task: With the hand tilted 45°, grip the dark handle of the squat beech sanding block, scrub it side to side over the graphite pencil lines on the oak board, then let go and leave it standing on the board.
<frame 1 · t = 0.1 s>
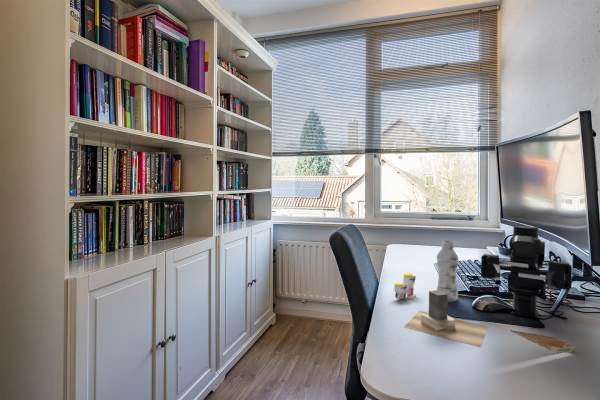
hand: (521, 278, 75), 17 cm above the table, tool horizontal, fingers open, 9 cm apart
plastic bottle: (446, 302, 106), on the table
sanding block: (437, 325, 86), point 1 cm above the table, touching oak board
shard: (541, 348, 77), on the table
oak board: (445, 329, 85), on the table
toy figures: (405, 299, 109), on the table
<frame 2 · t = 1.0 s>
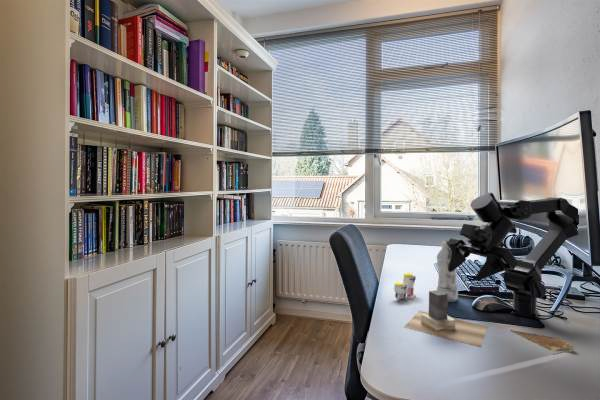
hand: (461, 275, 87), 14 cm above the table, tool tilted 45°, fingers open, 9 cm apart
nothing on the table moved.
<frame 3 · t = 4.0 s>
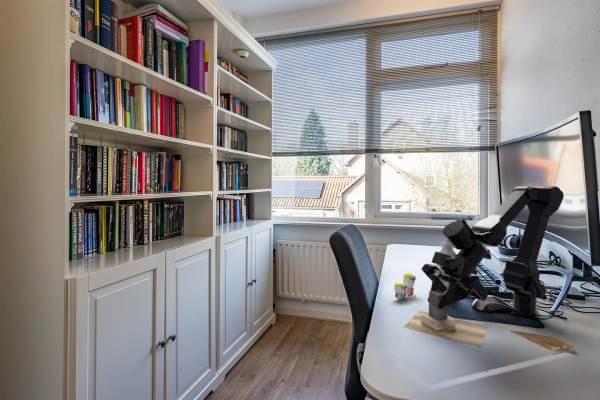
hand: (433, 304, 85), 7 cm above the table, tool tilted 45°, fingers closed on sanding block, 3 cm apart
sanding block: (437, 325, 86), point 1 cm above the table, touching gripper, oak board
everything else where it was.
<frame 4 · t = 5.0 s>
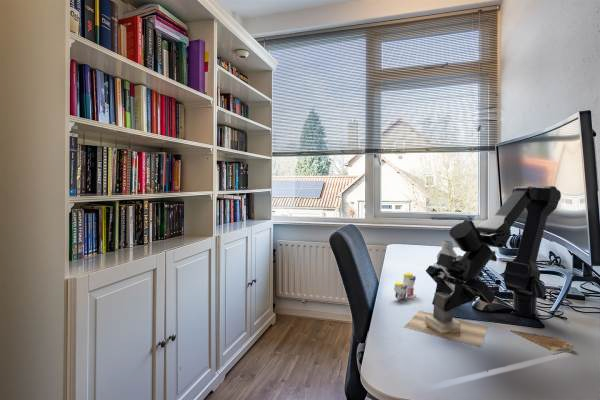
hand: (438, 307, 83), 7 cm above the table, tool tilted 45°, fingers closed on sanding block, 4 cm apart
sanding block: (442, 327, 84), point 1 cm above the table, touching gripper, oak board
everything else where it was.
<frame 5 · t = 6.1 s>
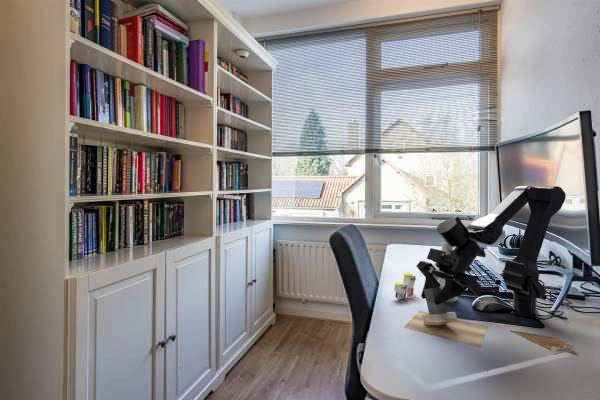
hand: (428, 300, 86), 7 cm above the table, tool tilted 45°, fingers closed on sanding block, 4 cm apart
sanding block: (440, 323, 85), point 2 cm above the table, tilted 22°, touching gripper, oak board
everything else where it was.
when the fingers open (7 cm above the table, at t = 9.4 s): sanding block stays where it is, resting on oak board.
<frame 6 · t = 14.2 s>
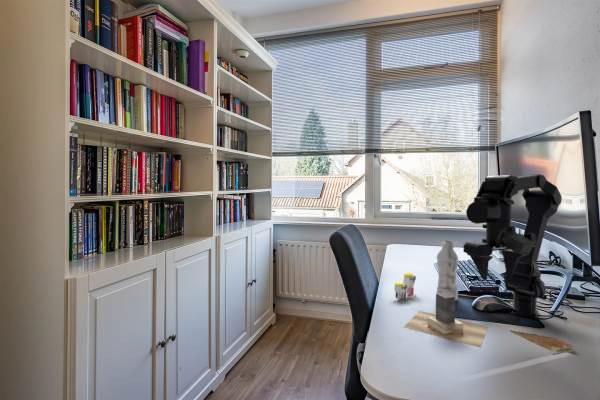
hand: (497, 278, 88), 13 cm above the table, tool pointing down, fingers open, 9 cm apart
sanding block: (444, 329, 84), point 1 cm above the table, touching oak board
everything else where it was.
at the end: sanding block inside the target area on the oak board (1.8 cm from its centre), point 0.8 cm above the oak board's base; sanding block tilted 0°; sanding block moved 2.3 cm from its start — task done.
